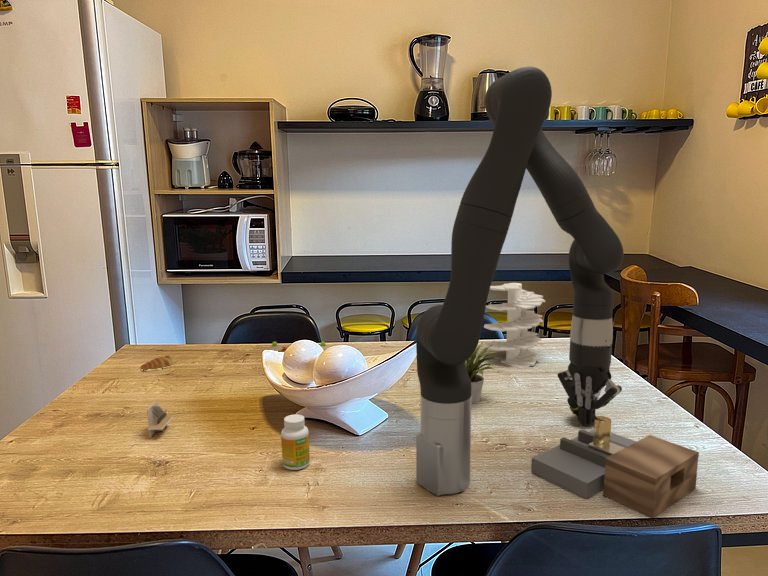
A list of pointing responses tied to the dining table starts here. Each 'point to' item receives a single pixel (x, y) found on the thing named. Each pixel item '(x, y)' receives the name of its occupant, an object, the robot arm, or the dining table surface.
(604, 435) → the bolt
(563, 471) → the grey grooved block
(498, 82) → the robot arm
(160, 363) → the pastry
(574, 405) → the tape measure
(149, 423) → the architectural model
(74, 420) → the dining table surface
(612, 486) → the block
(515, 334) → the spiral staircase
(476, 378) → the house plant
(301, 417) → the supplement bottle
